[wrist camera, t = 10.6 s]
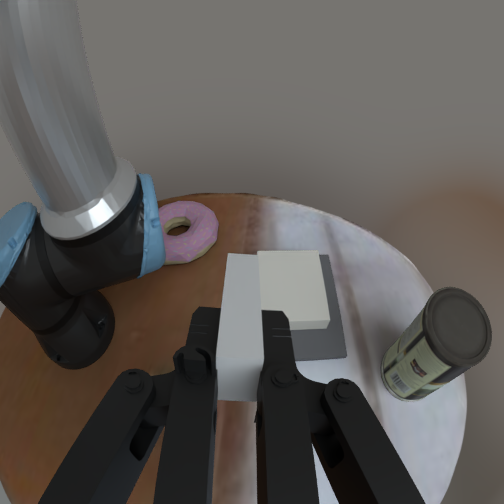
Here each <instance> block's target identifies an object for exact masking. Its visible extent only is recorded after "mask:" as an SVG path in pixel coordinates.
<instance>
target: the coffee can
mask: <svg viewBox="0 0 504 504" xmlns="http://www.w3.org/2000/svg"><path fill="white" fill-rule="evenodd" d="M491 340H492V331H491V325H490V321H489V318H488V316H487V314H486V312H485V310H484V308H483V307H482V305H481V304H480V303H479V302H478V301H477V300H476V299H475V298H474V297H473V296H472V295H471V294H469V293H467V292H466V291H464V290H462V289H459V288H455V287H446V288H442V289H439V290H437V291H436V292H435V293H433V294H432V295H431V297H430V298H429V300H428V301H427V303H426V305H425V307H424V308H423V309H422V311H421V312H420V313H419V314H418V316H417V317H416V318H415V319H414V321H413V322H412V323H411V324H410V326H409V327H408V328H407V329H406V330H405V332H404V333H403V334H402V335H401V336H400V337H399V339H398V340H397V341H396V342H395V343H394V344H393V345H392V346H391V347H390V348H389V349H388V350H387V352H386V353H385V355H384V357H383V360H382V365H381V374H382V379H383V382H384V384H385V386H386V388H387V389H388V390H389V392H390V393H391V394H392V395H393V396H395V397H396V398H398V399H400V400H403V401H408V402H413V401H418V400H421V399H423V398H425V397H426V396H427V395H429V394H430V393H432V392H434V391H435V390H437V389H439V388H440V387H442V386H444V385H445V384H447V383H448V382H450V381H451V380H453V379H455V378H456V377H458V376H459V375H461V374H462V373H464V372H465V371H467V370H468V369H469V368H471V367H473V366H475V365H476V364H478V363H479V362H481V361H482V360H483V359H484V358H485V357H486V355H487V353H488V352H489V349H490V346H491Z"/></svg>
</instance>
